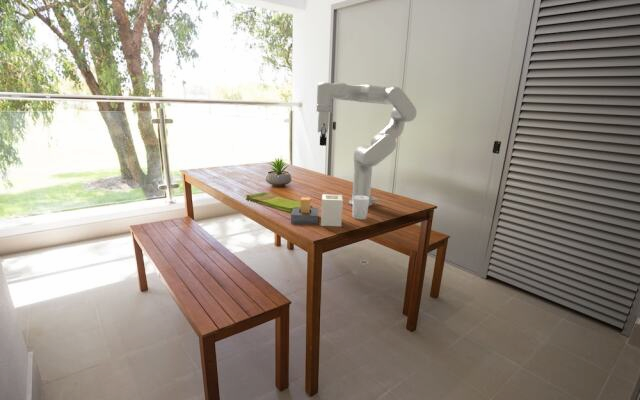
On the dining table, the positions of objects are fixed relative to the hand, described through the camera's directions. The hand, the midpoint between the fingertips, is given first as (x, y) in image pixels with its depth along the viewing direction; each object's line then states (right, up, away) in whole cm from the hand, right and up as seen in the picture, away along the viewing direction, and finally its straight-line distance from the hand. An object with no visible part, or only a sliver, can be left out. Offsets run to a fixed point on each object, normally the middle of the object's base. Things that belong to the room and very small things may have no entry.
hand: (322, 144), depth 165 cm
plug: (-8, -36, -13) cm, 39 cm away
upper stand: (+3, -38, -16) cm, 42 cm away
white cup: (+18, -37, -7) cm, 41 cm away
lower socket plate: (-8, -37, -13) cm, 40 cm away
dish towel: (-24, -31, +10) cm, 40 cm away
